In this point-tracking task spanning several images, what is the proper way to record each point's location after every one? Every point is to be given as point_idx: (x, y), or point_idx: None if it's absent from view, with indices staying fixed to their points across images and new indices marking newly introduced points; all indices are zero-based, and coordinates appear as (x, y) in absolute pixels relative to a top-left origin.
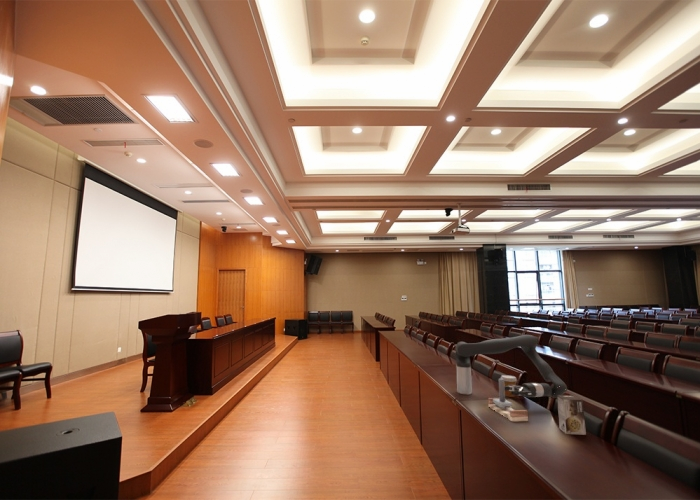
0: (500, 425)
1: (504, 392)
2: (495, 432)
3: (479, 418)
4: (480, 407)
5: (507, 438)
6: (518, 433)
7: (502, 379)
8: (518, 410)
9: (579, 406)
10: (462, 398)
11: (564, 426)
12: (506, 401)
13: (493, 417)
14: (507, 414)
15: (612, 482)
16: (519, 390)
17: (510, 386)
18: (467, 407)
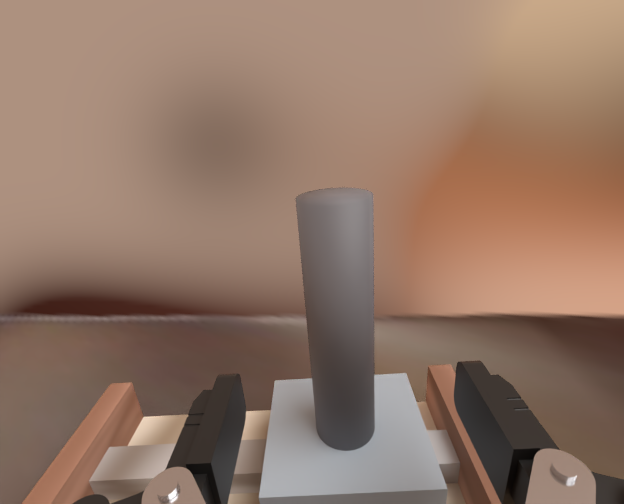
0: (136, 356)
1: (312, 354)
2: (102, 318)
3: (248, 317)
4: (420, 371)
5: (35, 330)
6: (12, 384)
7: (320, 199)
8: (82, 445)
9: None
10: (602, 340)
11: None
12: (328, 460)
13: (238, 369)
14: (183, 418)
15: None
16: (164, 488)
17: (531, 489)
18: (405, 318)
